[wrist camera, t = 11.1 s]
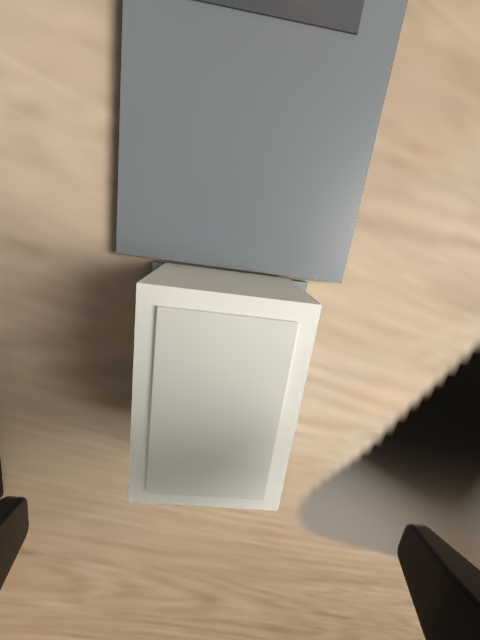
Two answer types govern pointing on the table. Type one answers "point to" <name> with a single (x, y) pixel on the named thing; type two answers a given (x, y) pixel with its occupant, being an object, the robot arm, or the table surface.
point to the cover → (216, 385)
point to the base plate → (250, 129)
